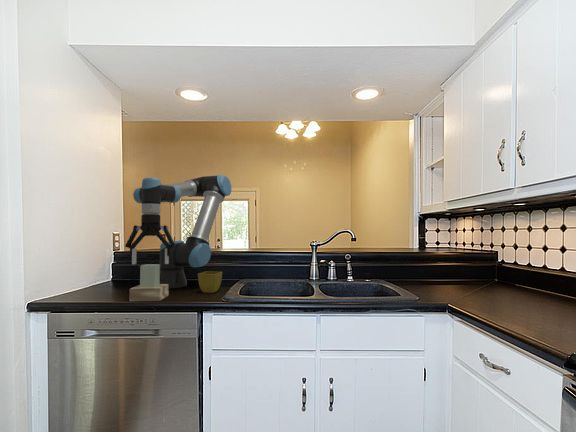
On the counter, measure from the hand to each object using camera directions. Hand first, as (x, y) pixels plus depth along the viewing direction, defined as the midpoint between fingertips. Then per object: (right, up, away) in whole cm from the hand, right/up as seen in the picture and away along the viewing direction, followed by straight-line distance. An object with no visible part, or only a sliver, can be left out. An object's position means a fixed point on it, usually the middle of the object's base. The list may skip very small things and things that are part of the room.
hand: (150, 264), depth 145 cm
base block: (0, -14, -1) cm, 14 cm away
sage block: (0, -9, -1) cm, 9 cm away
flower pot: (+22, -15, +13) cm, 30 cm away
